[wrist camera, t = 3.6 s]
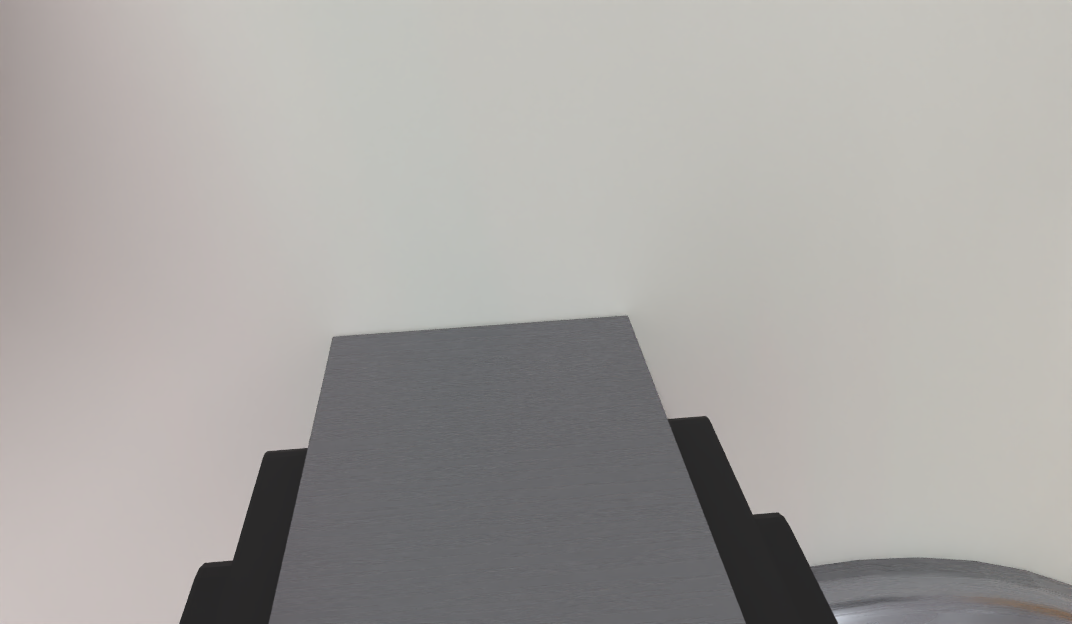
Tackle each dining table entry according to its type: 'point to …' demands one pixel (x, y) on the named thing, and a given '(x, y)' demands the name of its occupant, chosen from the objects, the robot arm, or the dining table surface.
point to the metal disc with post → (941, 593)
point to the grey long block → (497, 486)
